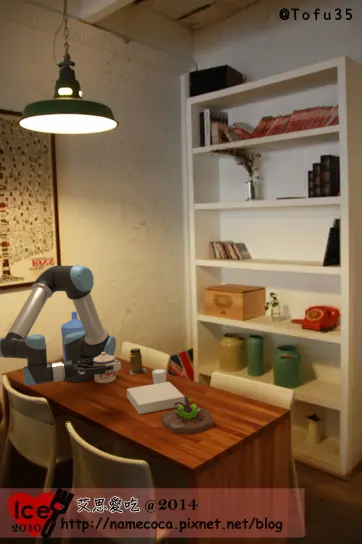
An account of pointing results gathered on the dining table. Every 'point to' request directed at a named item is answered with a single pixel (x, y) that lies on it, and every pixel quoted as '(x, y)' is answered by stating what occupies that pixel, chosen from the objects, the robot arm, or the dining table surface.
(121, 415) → the dining table surface
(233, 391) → the dining table surface
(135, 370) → the condiment
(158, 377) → the white cup
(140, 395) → the plinth
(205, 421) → the plant
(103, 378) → the teacup with lid
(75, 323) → the water jug
